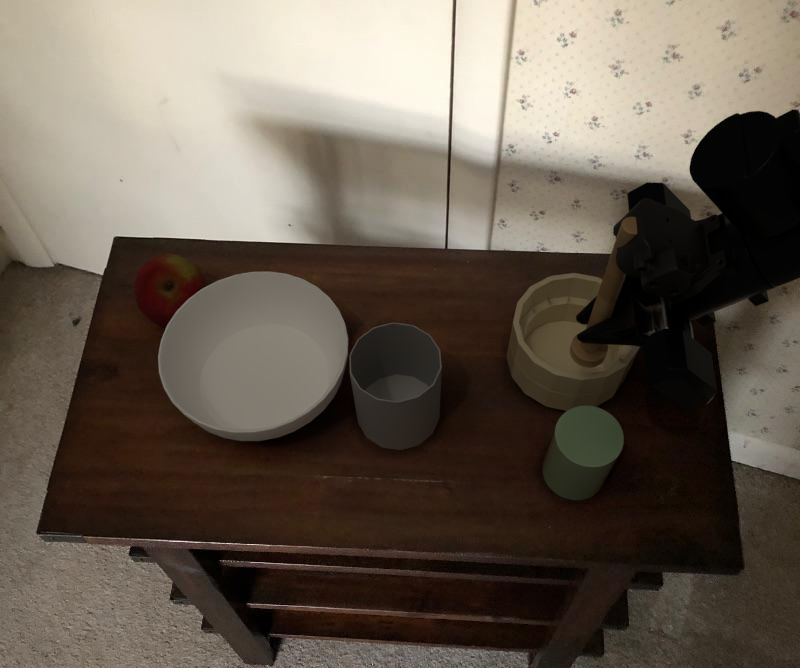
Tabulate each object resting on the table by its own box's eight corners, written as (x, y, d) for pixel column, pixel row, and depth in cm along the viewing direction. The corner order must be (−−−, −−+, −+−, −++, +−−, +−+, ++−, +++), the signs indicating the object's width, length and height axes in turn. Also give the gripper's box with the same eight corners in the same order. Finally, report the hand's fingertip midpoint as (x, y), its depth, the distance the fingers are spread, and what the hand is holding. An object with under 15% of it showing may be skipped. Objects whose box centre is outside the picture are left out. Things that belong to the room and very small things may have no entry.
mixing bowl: (577, 296, 84) (589, 255, 78) (649, 378, 79) (668, 341, 73) (484, 345, 81) (489, 307, 75) (552, 433, 76) (564, 400, 70)
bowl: (341, 472, 75) (334, 440, 68) (159, 457, 76) (135, 424, 69) (364, 317, 83) (359, 276, 77) (200, 306, 84) (182, 265, 78)
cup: (442, 447, 76) (444, 399, 67) (358, 452, 76) (350, 405, 67) (435, 374, 80) (437, 319, 71) (356, 378, 80) (348, 324, 71)
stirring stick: (590, 332, 70) (636, 201, 55) (612, 357, 68) (665, 230, 54) (562, 348, 69) (600, 219, 54) (584, 373, 68) (629, 249, 53)
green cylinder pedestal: (579, 433, 76) (595, 394, 69) (617, 480, 74) (638, 445, 66) (529, 461, 75) (541, 425, 68) (567, 511, 72) (582, 479, 65)
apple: (138, 341, 82) (112, 297, 75) (158, 281, 86) (135, 233, 79) (207, 347, 82) (187, 303, 75) (224, 286, 86) (206, 239, 79)
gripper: (689, 95, 55) (518, 199, 65) (724, 308, 46) (520, 389, 57) (759, 178, 62) (593, 260, 72) (801, 379, 53) (606, 440, 63)
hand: (579, 329), depth 66 cm, fingers closed on stirring stick
